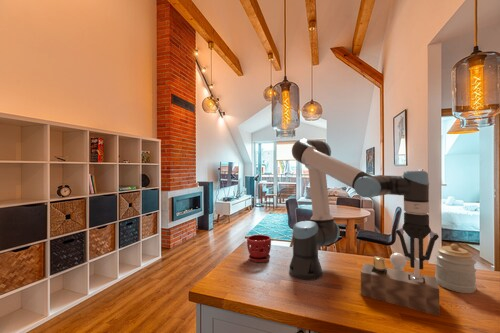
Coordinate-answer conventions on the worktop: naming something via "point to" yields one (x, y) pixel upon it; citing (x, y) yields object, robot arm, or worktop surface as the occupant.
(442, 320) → the worktop surface
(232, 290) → the worktop surface
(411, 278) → the steel peg
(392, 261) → the lightbulb
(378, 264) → the brass peg
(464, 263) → the jar
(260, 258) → the plant pot
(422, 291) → the socket block
